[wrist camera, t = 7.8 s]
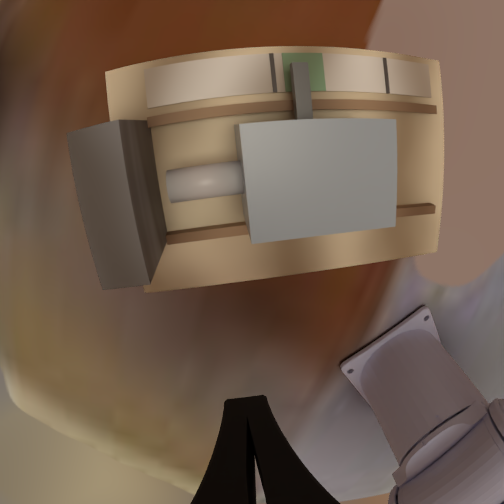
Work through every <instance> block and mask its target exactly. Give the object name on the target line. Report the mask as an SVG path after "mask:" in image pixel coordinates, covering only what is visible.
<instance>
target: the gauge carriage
mask: <svg viewBox="0 0 504 504" xmlns="http://www.w3.org/2000/svg"><path fill="white" fill-rule="evenodd" d="M290 74H291V83H292V93H293V104H294V115H295V120H280V121H267V122H255V123H244V124H234V131H235V140H236V150H237V159H238V161H229V162H221V163H213V164H205V165H198V166H191V167H184V168H178V169H171V170H167V171H166V186H167V193H168V197H169V200H170V202H171V203H178V202H184V201H191V200H199V199H206V198H214V197H221V196H229V195H237V194H241V197H242V206H243V215H244V218H245V222H246V226H247V229H248V233H249V237H250V240H251V244H257V243H265V242H273V241H281V240H289V239H297V238H305V237H313V236H321V235H329V234H338V233H346V232H354V231H363V230H371V229H379V228H388V227H395V225H396V205H397V129H396V119H373V118H325V119H313V110H312V99H311V88H310V78H309V68H308V62H292V63H291V64H290Z"/></svg>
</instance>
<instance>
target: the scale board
mask: <svg viewBox="0 0 504 504" xmlns="http://www.w3.org/2000/svg"><path fill="white" fill-rule="evenodd" d="M292 62H308V68H309V78H310V88H311V99H312V110H313V119H325V118H373V119H396V129H397V205H396V225H395V227H388V228H379V229H371V230H363V231H354V232H346V233H338V234H329V235H321V236H313V237H305V238H297V239H289V240H281V241H273V242H265V243H257V244H251V240H250V237H249V233H248V229H247V226H246V222H245V218H244V215H243V206H242V197H241V194H237V195H229V196H221V197H214V198H206V199H199V200H191V201H184V202H178V203H171V202H170V200H169V197H168V193H167V186H166V171H167V170H171V169H178V168H184V167H191V166H198V165H205V164H213V163H221V162H229V161H238V159H237V150H236V140H235V131H234V124H244V123H255V122H267V121H280V120H295V115H294V104H293V93H292V83H291V74H290V64H291V63H292ZM105 75H106V87H107V97H108V107H109V115H110V122H106V123H102V124H98V125H94V126H91V127H87V128H83V129H80V130H76V131H73V132H69V133H67V140H68V147H69V153H70V159H71V165H72V171H73V176H74V181H75V186H76V191H77V196H78V201H79V205H80V210H81V214H82V218H83V222H84V227H85V231H86V234H87V238H88V242H89V246H90V249H91V253H92V257H93V260H94V263H95V267H96V270H97V273H98V277H99V280H100V283H101V286H102V289H103V290H107V289H116V288H126V287H134V286H143V288H144V291H145V293H151V292H160V291H169V290H177V289H186V288H194V287H202V286H211V285H219V284H227V283H234V282H242V281H250V280H257V279H265V278H272V277H280V276H287V275H294V274H301V273H308V272H315V271H322V270H329V269H335V268H342V267H349V266H355V265H362V264H368V263H374V262H381V261H387V260H393V259H399V258H405V257H411V256H417V255H423V254H428V253H435V252H437V247H438V239H439V231H440V221H441V210H442V196H443V177H444V117H443V99H442V86H441V76H440V67H439V61H436V60H431V59H426V58H420V57H415V56H410V55H403V54H397V53H389V52H381V51H374V50H364V49H353V48H338V47H315V46H277V47H254V48H239V49H228V50H218V51H209V52H201V53H194V54H187V55H181V56H175V57H169V58H164V59H158V60H153V61H148V62H144V63H139V64H135V65H131V66H126V67H122V68H118V69H114V70H111V71H107V72H105Z"/></svg>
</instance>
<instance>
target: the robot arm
mask: <svg viewBox="0 0 504 504" xmlns="http://www.w3.org/2000/svg"><path fill="white" fill-rule="evenodd" d="M425 316H426V317H425ZM424 317H425V318H424ZM340 368H341V370H342V372H343V373H344V374H345V376H346V377H347V378H348V379H349V381H350V382H351V383H352V384H353V385H354V387H355V388H356V389H357V390H358V392H359V393H360V394H361V395H362V397H363V398H364V399H365V400H366V401H367V403H368V404H369V405H370V406H371V408H372V409H373V411H374V413H375V415H376V417H377V419H378V421H379V424H380V426H381V428H382V430H383V432H384V434H385V436H386V438H387V440H388V442H389V445H390V447H391V449H392V451H393V453H394V455H395V457H396V460H397V462H398V464H399V466H400V467H399V468H398V469H397V470H396V471H395V472H394V473H393V474H392V475H393V477H394V480H395V482H396V484H397V485H395V486H394V487H393V489H392V490H391V492H390V495H389V500H388V504H504V399H498V398H497V399H495V400H493V402H492V403H491V404H490V403H488V402H487V401H486V399H485V398H484V397H483V396H482V394H481V393H480V392H479V390H478V389H477V388H476V387H475V385H474V384H473V383H472V382H471V380H470V379H469V378H468V376H467V375H466V374H465V373H464V372H463V370H462V369H461V368H460V367H459V365H458V364H457V363H456V362H455V361H454V359H453V358H452V357H451V356H450V354H449V353H448V352H447V351H446V350H445V349H444V347H443V346H442V344H441V341H440V338H439V335H438V332H437V329H436V326H435V323H434V320H433V318H432V315H431V312H430V310H429V308H428V307H427V306H423V307H421V308H420V309H419V310H417V311H416V312H415V313H413V314H412V315H411V316H409V317H408V318H407V319H405V320H404V321H403V322H401V323H400V324H398V325H397V326H396V327H394V328H393V329H392V330H390V331H389V332H387V333H386V334H384V335H383V336H382V337H380V338H379V339H377V340H376V341H374V342H373V343H371V344H370V345H368V346H367V347H365V348H364V349H362V350H361V351H359V352H358V353H356V354H355V355H353V356H352V357H350V358H349V359H347V360H345V361H344V362H343V363H342V364H341V365H340ZM349 369H350V370H349ZM254 455H255V457H254ZM255 459H256V463H257V467H258V471H259V475H260V478H261V482H262V486H263V490H264V494H265V497H266V504H340V503H339V502H338V501H337V500H336V499H335V498H334V497H332V496H331V495H330V494H329V493H328V492H327V490H326V489H325V488H324V487H323V486H322V485H321V484H320V483H319V482H318V481H317V480H316V479H315V478H314V476H313V475H312V474H311V473H310V472H309V470H308V469H307V468H306V467H305V465H304V464H303V463H302V461H301V460H300V459H299V457H298V456H297V455H296V453H295V452H294V450H293V449H292V447H291V446H290V444H289V443H288V441H287V440H286V438H285V436H284V435H283V433H282V431H281V430H280V428H279V426H278V424H277V422H276V420H275V418H274V416H273V414H272V412H271V409H270V407H269V404H268V401H267V397H266V396H264V395H259V396H252V397H244V398H235V399H227V400H226V401H225V402H224V411H223V417H222V422H221V427H220V431H219V435H218V438H217V441H216V445H215V448H214V451H213V454H212V457H211V460H210V462H209V465H208V467H207V470H206V473H205V475H204V477H203V480H202V482H201V484H200V486H199V488H198V490H197V492H196V494H195V496H194V498H193V500H192V502H191V504H256V484H255Z"/></svg>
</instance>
